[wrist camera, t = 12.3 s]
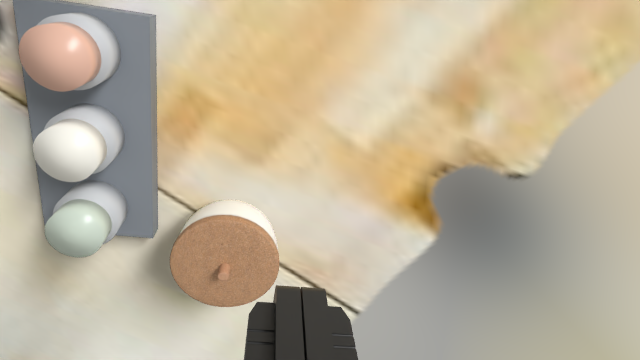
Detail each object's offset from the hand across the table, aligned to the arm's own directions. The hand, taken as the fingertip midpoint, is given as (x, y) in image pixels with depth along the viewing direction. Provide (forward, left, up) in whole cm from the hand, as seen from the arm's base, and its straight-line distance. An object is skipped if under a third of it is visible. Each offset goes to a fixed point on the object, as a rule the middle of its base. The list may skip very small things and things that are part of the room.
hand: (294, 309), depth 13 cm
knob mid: (+7, -18, -27) cm, 33 cm away
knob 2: (+15, -18, -27) cm, 36 cm away
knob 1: (-1, -18, -27) cm, 32 cm away
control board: (+7, -18, -32) cm, 37 cm away
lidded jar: (+17, -4, -32) cm, 37 cm away
